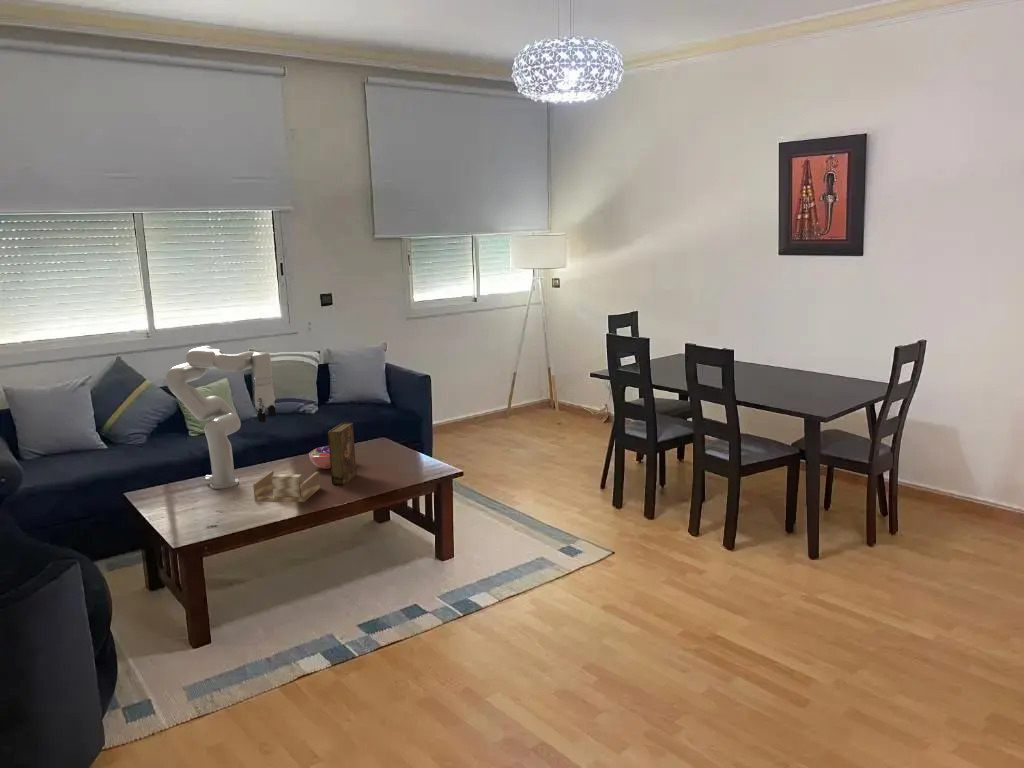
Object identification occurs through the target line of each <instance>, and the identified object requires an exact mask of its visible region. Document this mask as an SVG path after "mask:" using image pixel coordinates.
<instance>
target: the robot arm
mask: <svg viewBox="0 0 1024 768" xmlns="http://www.w3.org/2000/svg"><path fill="white" fill-rule="evenodd" d="M185 361H186V362H185V363H181V364H178V365H175V366H172V367H171V368H169V370H168V371H167V372H166V375H165V382H166V386H167V388H168V390H169V391H170V392H171V393H172V394H173V395H174V396H175V397H176V398H177V399H178V400H179V401H180V402H181V403H182V404H183V405H184V406H185V408H186V409H187V410H188V412H190V413H191V415H193V417H195V419H197V420H198V421H201V422H202V421H206V420H208V421H207V422H206V423H205V425H204V433H205V434H204V435H205V437H206V440H207V444H208V445H207V446H208V450H209V459H210V460H209V461H210V467H211V475H209V474H206V475H205V477H204V478H205V479H204V480H205V481H210V482H209V488H211V489H217V490H220V489H223V490H224V489H229V488H232V487H235V486H237V485H239V483H240V482H239V481H240V480H239V479H238V478H236V475H235V468H234V466H235V465H234V458H233V456H234V455H233V448H232V444H231V441H230V440H229V438H228V436H229V435H232V434H233V433H236V432H237V431H239V430H240V428H241V419H240V417H239V416H238V414H237V413H236V411H234V410H233V409H232V408H231V406H230V405H229V404H228V403H227V402H226V401H225V399H223V398H222V397H221V396H219V395H218V396H217V395H210V396H207V397H205V396H204V395H203V394H202V393H201V392H200V391H199V390H198V389H197V388H195V387H194V386H192V385H190V384H189V383H190V382H193V381H196V380H197V381H198V380H199V379H201V378H202V377H204V375H205V374H206V373H207V372H208V371H209V370H210V369H215V370H219V371H221V372H228V373H229V372H230V373H231V372H232V373H238V372H240V373H241V372H243V371H248V370H251V369H253V377H254V378H253V379H254V403H255V404H254V405H255V406H254V407H255V410H256V414H257V419H258V422H259V423H265V422H267V420H266V419H267V417H266V412H265V410H266V409H267V412H268V417H276V416H277V415H276V414H277V413H276V397H277V396H276V395H275V391H274V385H273V384H274V381H273V371H272V370H273V369H272V360H271V354H270V353H269V352H265V351H264V352H263V351H262V352H259V351H253V350H248V351H244V352H239V353H237V354H225V352H224V350H222V349H218V348H215V347H213V346H210V345H203V346H199V347H195V348H192V349H190V350H189V351H188V352H187V353H186V355H185Z"/></svg>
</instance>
